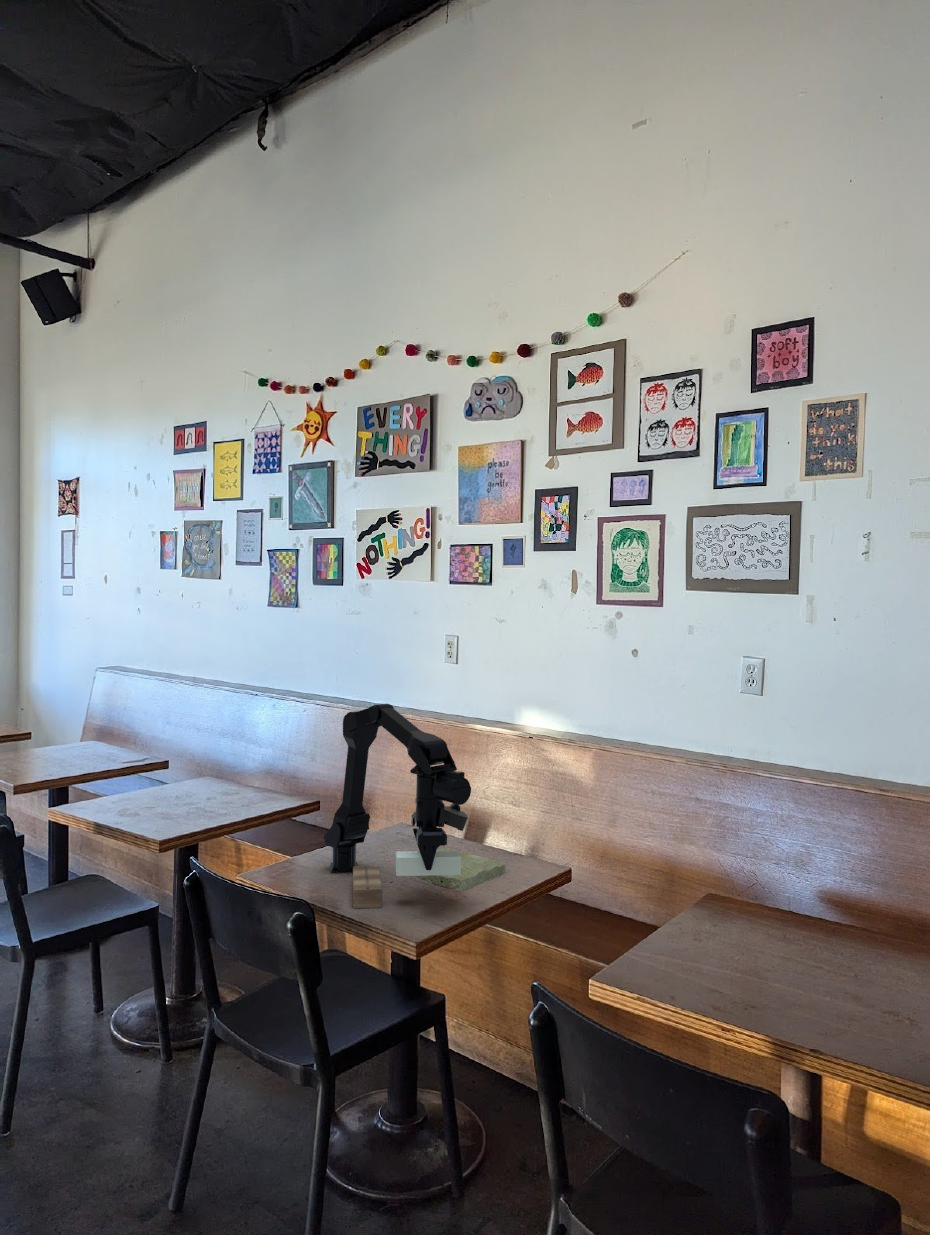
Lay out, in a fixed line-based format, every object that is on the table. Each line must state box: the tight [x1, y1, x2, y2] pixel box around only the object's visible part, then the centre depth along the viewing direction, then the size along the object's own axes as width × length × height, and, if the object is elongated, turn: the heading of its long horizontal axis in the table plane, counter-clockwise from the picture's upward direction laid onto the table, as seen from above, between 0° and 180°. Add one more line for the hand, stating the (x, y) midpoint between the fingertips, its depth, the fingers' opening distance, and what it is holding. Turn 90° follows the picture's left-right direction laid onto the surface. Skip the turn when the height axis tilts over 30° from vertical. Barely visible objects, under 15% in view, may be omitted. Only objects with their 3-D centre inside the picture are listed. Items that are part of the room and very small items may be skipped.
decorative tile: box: [415, 847, 507, 892], centre depth 209 cm, size 19×20×4 cm
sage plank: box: [394, 850, 461, 877], centre depth 189 cm, size 14×4×4 cm, turn 98°
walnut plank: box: [352, 865, 383, 909], centre depth 193 cm, size 16×6×4 cm, turn 8°
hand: (427, 866), depth 189 cm, fingers closed on sage plank, 4 cm apart
